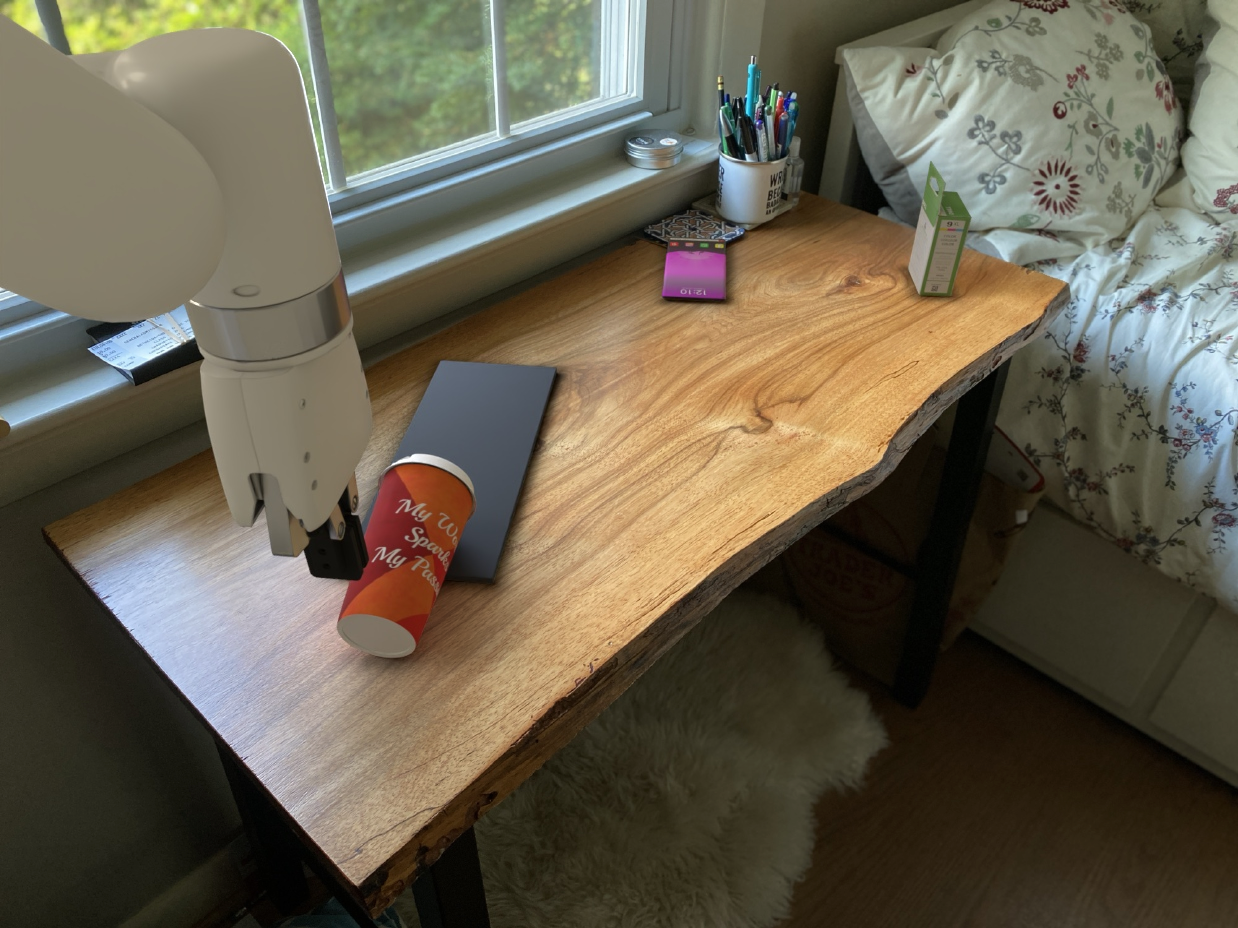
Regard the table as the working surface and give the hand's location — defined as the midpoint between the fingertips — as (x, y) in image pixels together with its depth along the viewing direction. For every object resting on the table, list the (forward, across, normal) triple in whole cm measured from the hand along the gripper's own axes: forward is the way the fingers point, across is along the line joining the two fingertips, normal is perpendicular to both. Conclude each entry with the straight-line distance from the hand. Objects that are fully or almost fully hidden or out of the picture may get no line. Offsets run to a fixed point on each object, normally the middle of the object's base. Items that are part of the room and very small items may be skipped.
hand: (340, 569), depth 57 cm
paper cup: (+8, -1, 0) cm, 8 cm away
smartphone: (+11, -63, +19) cm, 67 cm away
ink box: (+11, -64, +47) cm, 80 cm away
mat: (+11, -25, 0) cm, 27 cm away
